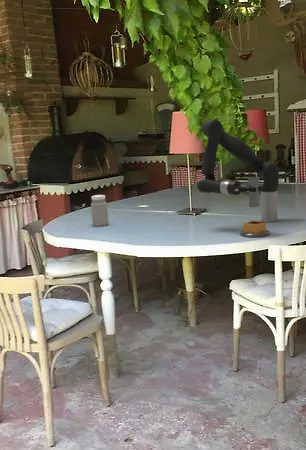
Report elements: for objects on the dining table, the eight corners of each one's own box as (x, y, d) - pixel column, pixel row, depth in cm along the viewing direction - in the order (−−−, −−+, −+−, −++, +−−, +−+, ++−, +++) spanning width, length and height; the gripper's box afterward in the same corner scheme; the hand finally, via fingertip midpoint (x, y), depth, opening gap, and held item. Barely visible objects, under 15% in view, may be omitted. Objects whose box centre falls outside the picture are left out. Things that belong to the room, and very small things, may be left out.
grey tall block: (248, 206, 272) (248, 177, 269) (252, 205, 274) (252, 176, 271) (255, 207, 269) (254, 177, 266) (259, 206, 272) (259, 176, 269)
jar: (98, 223, 331) (96, 194, 327) (111, 223, 326) (109, 194, 323) (89, 226, 322) (87, 197, 319) (103, 226, 318) (100, 197, 314)
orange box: (234, 235, 274) (234, 223, 273) (250, 230, 285) (250, 218, 284) (259, 238, 264) (259, 226, 263) (275, 233, 274) (275, 221, 273)
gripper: (222, 182, 274) (250, 183, 262) (238, 178, 284) (266, 180, 272) (222, 196, 275) (250, 198, 264) (238, 192, 285) (266, 194, 274)
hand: (258, 189), depth 268 cm, fingers closed on grey tall block, 4 cm apart
